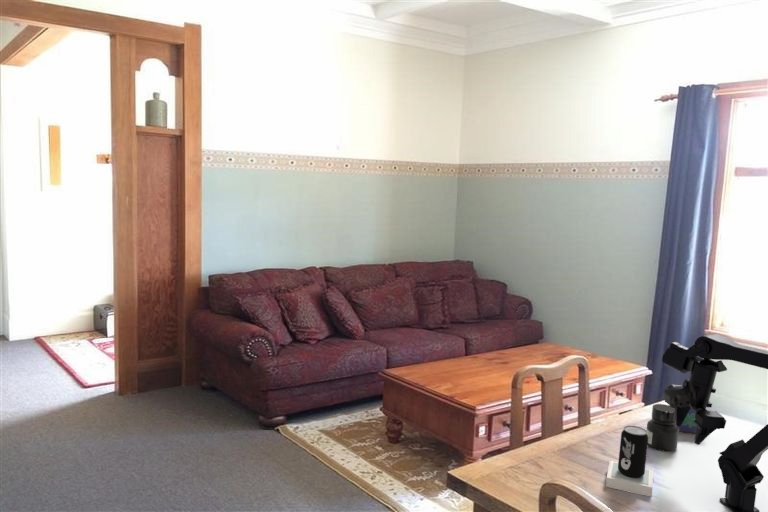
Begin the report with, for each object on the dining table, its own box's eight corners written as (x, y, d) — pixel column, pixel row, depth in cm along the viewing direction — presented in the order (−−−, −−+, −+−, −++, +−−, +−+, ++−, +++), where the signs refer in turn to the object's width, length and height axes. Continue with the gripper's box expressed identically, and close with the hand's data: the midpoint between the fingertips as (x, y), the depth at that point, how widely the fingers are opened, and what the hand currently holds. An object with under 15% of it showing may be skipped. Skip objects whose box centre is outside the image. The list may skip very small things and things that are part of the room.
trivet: (652, 478, 171) (653, 469, 171) (651, 496, 161) (652, 487, 160) (609, 469, 175) (609, 460, 175) (605, 486, 165) (606, 476, 165)
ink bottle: (650, 437, 199) (654, 400, 197) (680, 445, 193) (685, 407, 192) (640, 446, 191) (644, 408, 190) (671, 455, 186) (675, 416, 184)
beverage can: (646, 480, 164) (651, 436, 162) (619, 477, 165) (623, 432, 163) (641, 469, 170) (646, 426, 168) (616, 465, 171) (620, 423, 170)
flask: (672, 431, 204) (676, 399, 203) (670, 428, 207) (674, 396, 205) (703, 436, 202) (707, 403, 200) (701, 432, 205) (705, 400, 203)
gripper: (654, 363, 173) (641, 415, 177) (691, 395, 155) (676, 452, 159) (693, 366, 174) (679, 418, 178) (734, 398, 156) (718, 455, 160)
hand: (687, 434), depth 169 cm, fingers open, 9 cm apart
